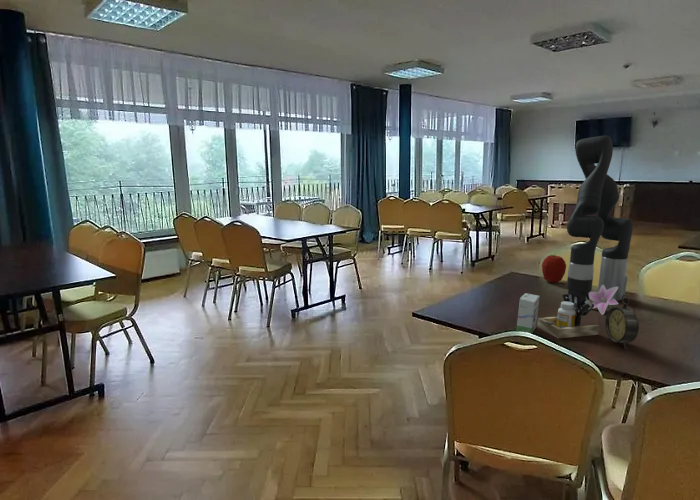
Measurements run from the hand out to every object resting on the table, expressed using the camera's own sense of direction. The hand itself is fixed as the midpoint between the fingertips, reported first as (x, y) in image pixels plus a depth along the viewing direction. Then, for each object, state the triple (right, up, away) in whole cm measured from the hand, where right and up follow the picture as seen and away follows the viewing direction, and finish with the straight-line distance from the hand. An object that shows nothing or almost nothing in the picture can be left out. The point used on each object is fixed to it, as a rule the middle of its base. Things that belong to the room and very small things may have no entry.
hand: (575, 325), depth 157 cm
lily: (+19, +2, +20) cm, 28 cm away
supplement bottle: (-4, -2, -1) cm, 5 cm away
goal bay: (-3, -2, -1) cm, 4 cm away
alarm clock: (+8, -4, -12) cm, 15 cm away
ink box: (-17, -2, -1) cm, 17 cm away
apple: (+18, +10, +58) cm, 62 cm away
